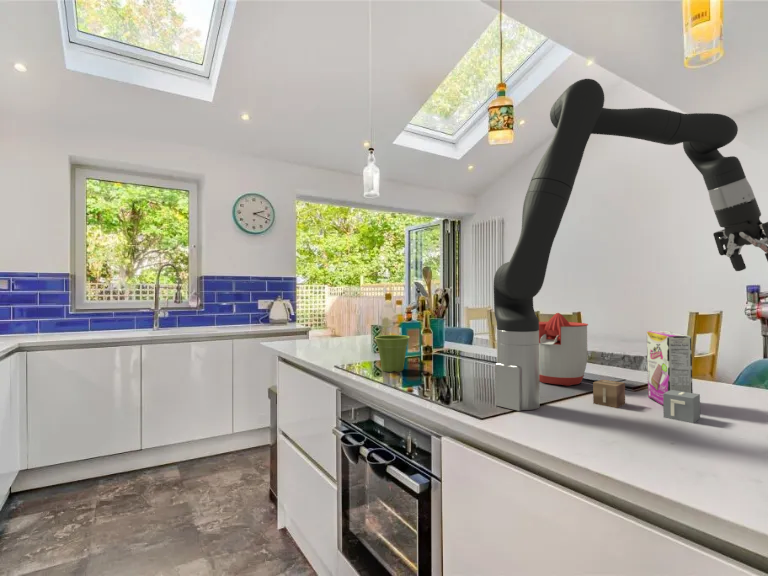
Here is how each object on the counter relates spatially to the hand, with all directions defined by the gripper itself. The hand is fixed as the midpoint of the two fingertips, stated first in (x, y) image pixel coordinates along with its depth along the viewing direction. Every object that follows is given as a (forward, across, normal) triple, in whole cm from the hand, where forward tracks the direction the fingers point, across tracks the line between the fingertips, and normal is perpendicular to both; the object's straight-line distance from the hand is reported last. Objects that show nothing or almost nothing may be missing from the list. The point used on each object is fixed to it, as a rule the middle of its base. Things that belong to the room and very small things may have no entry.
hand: (758, 268), depth 94 cm
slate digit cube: (+21, +8, -34) cm, 41 cm away
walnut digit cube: (+18, -3, -43) cm, 46 cm away
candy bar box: (+23, -2, -30) cm, 38 cm away
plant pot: (+2, -46, -88) cm, 99 cm away
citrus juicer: (+17, -26, -44) cm, 54 cm away
